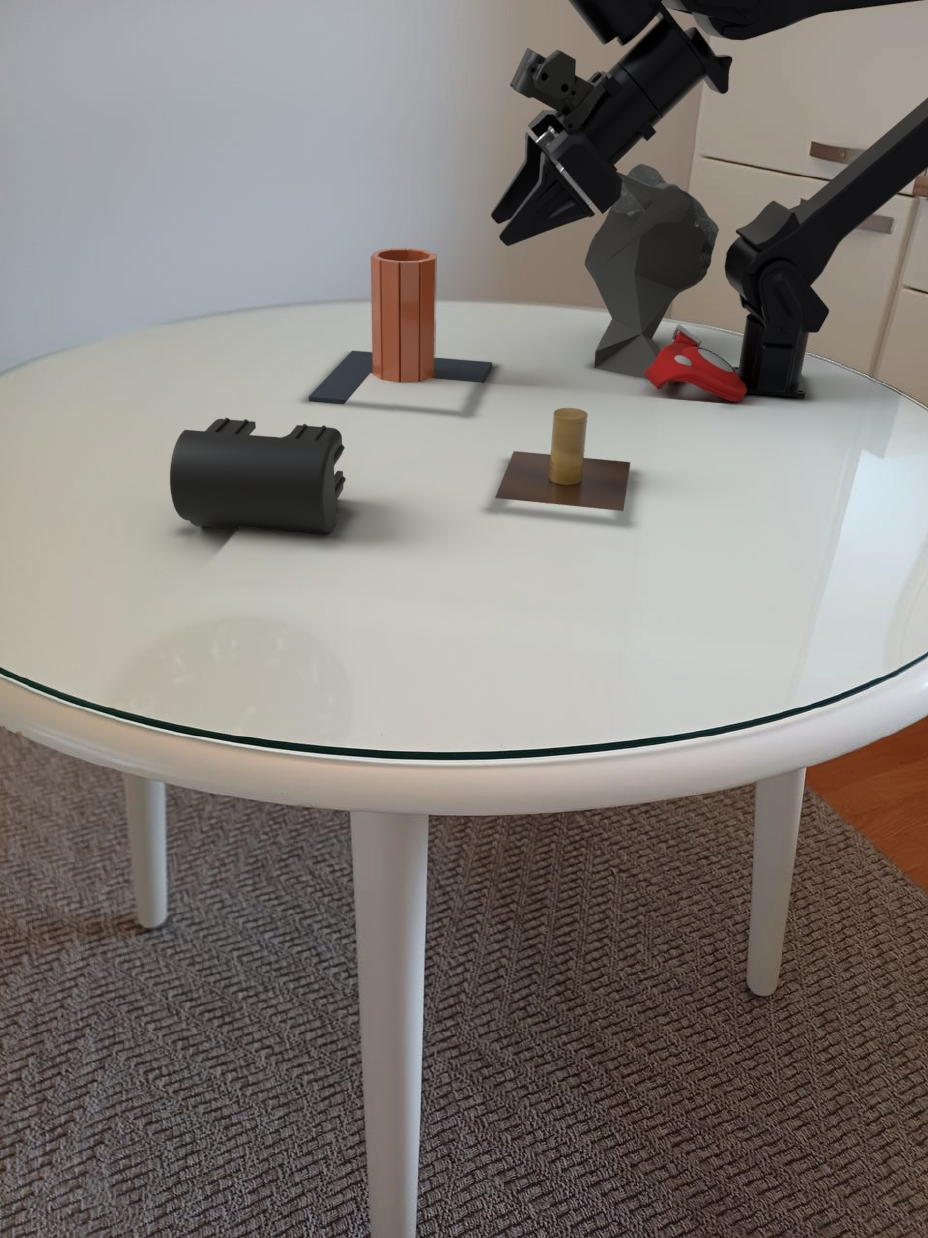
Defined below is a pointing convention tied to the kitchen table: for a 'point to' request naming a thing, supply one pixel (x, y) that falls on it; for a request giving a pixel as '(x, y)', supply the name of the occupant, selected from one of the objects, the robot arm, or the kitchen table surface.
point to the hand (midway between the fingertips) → (498, 230)
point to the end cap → (257, 477)
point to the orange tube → (403, 314)
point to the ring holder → (566, 470)
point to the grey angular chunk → (646, 264)
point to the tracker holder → (695, 367)
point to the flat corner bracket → (360, 366)
